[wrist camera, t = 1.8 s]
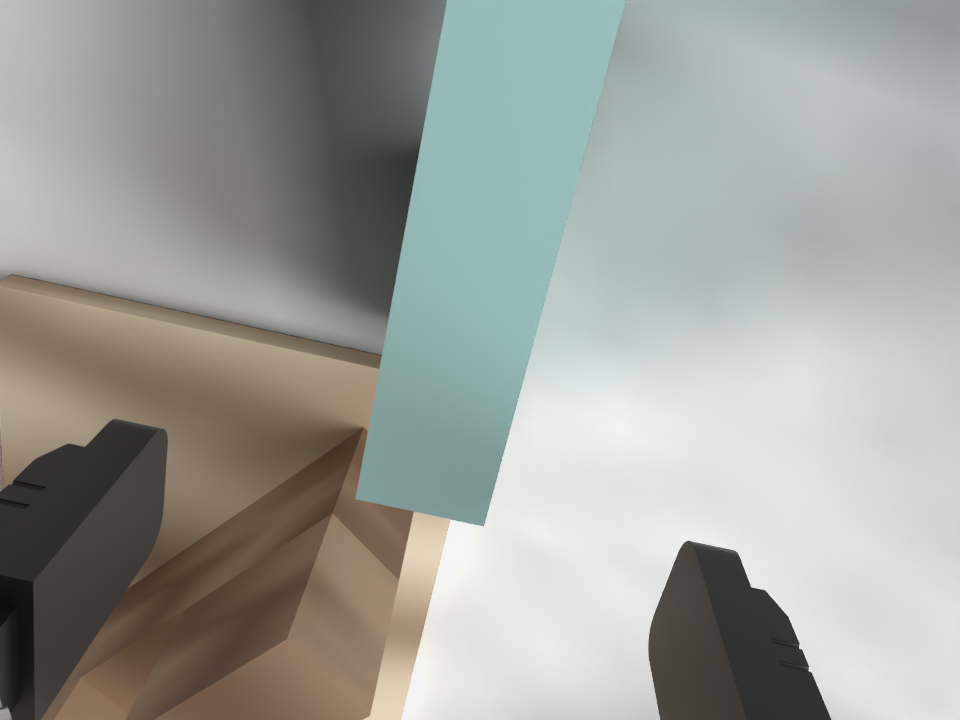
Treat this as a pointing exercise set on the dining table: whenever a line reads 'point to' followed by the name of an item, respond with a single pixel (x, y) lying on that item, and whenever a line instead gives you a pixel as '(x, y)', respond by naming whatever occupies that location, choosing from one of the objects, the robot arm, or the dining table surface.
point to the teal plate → (481, 244)
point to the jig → (227, 512)
